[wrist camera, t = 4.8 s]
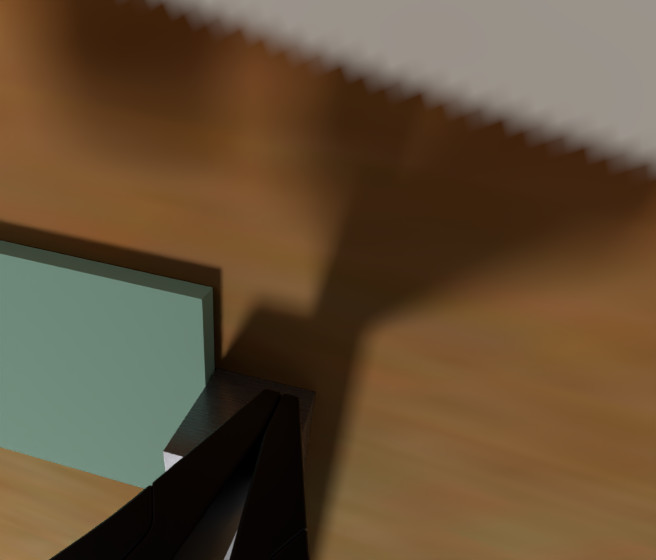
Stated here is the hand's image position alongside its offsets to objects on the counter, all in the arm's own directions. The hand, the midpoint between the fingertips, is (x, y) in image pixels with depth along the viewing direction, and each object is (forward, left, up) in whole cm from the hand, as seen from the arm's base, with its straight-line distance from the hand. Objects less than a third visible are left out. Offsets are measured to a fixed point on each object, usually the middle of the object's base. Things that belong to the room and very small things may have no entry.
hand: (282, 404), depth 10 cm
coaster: (+7, +3, -2) cm, 8 cm away
